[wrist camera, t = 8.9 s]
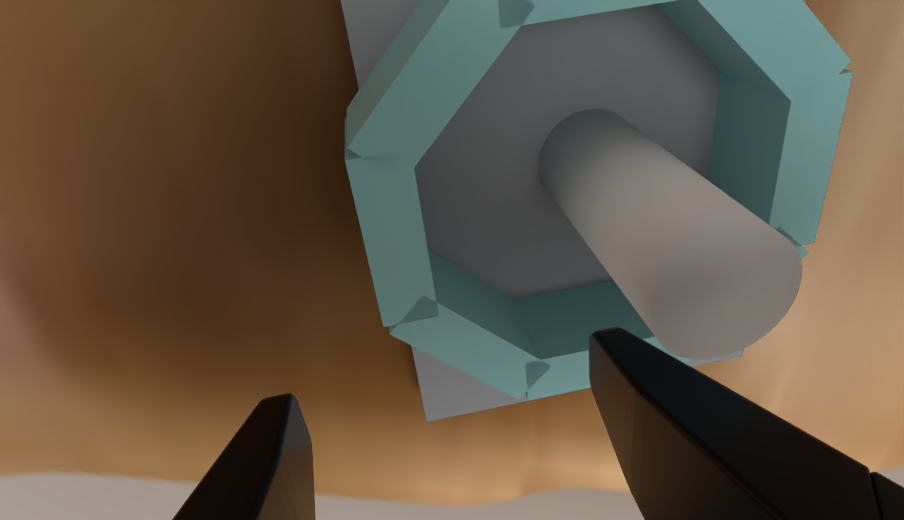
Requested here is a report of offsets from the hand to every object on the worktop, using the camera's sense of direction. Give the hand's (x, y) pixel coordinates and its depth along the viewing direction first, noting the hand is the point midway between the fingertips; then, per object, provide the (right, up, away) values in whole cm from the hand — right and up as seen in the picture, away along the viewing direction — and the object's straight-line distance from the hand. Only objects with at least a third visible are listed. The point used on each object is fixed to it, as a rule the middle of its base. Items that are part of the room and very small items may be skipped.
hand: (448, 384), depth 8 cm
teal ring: (+3, +4, +6) cm, 8 cm away
